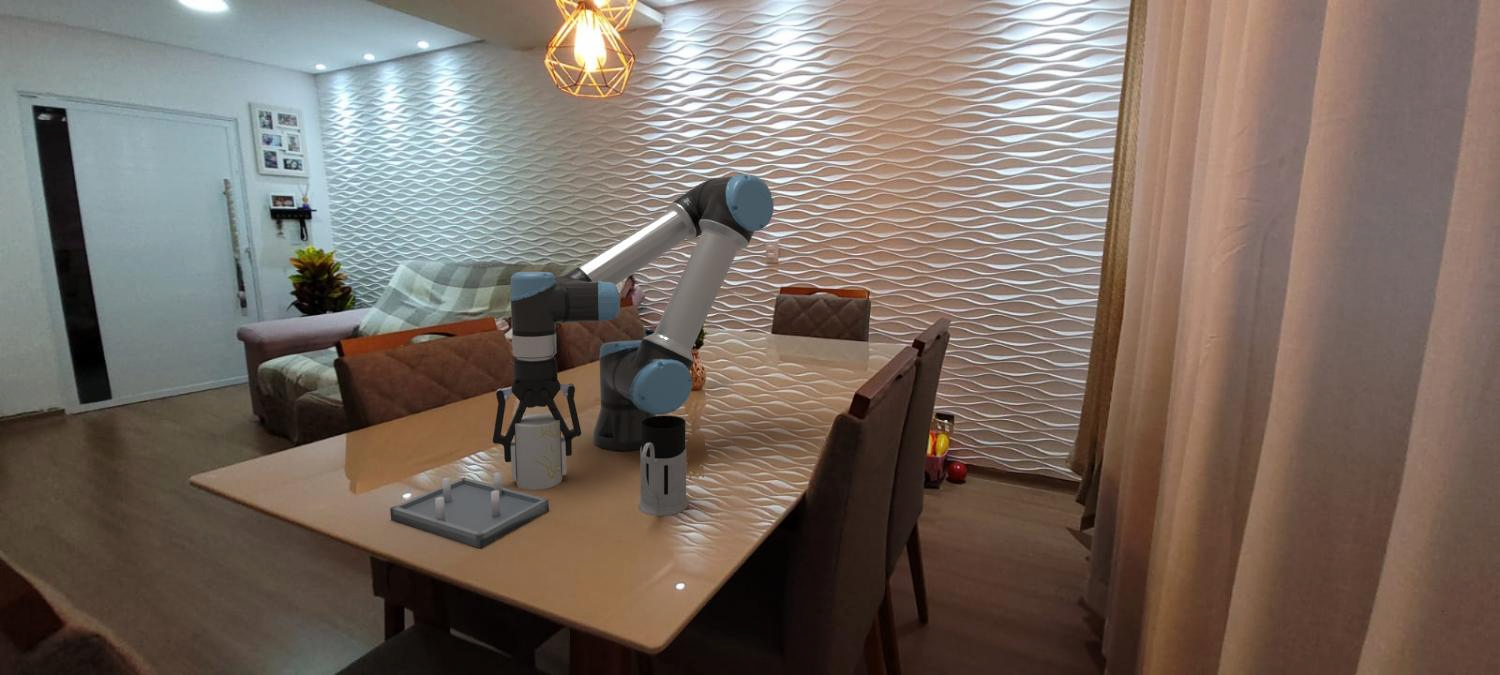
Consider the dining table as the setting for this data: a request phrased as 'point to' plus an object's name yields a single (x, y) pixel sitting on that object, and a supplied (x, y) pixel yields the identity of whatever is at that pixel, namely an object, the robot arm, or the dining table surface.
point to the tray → (470, 510)
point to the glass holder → (663, 466)
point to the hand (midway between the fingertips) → (539, 474)
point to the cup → (538, 452)
